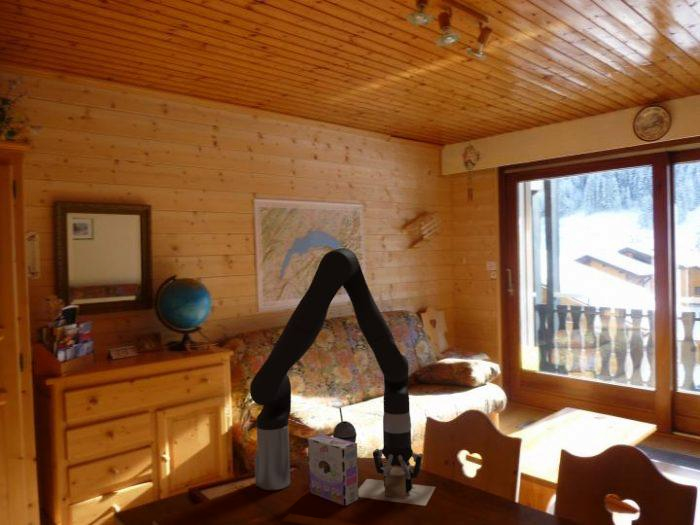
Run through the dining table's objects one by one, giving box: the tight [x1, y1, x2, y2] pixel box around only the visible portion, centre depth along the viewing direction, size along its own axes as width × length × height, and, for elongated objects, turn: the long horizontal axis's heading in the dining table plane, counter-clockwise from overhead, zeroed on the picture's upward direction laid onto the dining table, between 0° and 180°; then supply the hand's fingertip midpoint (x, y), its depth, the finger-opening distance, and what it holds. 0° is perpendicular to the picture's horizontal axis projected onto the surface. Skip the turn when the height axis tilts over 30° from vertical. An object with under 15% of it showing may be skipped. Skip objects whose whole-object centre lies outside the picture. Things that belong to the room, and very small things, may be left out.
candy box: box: [306, 433, 360, 507], centre depth 148 cm, size 14×6×16 cm, turn 47°
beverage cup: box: [332, 407, 358, 443], centre depth 167 cm, size 7×7×20 cm
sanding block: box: [385, 466, 407, 499], centre depth 149 cm, size 5×8×5 cm, turn 159°
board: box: [358, 478, 436, 507], centre depth 149 cm, size 20×12×2 cm, turn 69°
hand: (398, 490), depth 149 cm, fingers closed on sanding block, 5 cm apart
